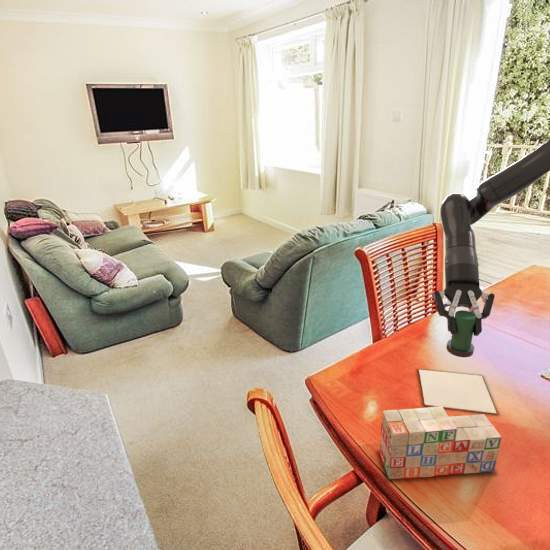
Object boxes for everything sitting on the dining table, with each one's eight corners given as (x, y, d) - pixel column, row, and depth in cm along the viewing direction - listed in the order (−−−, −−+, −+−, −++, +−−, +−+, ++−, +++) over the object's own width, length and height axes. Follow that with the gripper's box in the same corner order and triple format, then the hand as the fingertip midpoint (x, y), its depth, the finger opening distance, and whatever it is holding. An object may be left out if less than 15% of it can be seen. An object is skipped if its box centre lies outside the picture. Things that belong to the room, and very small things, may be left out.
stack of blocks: (477, 446, 80) (487, 402, 76) (494, 472, 75) (506, 425, 70) (378, 453, 80) (382, 409, 75) (388, 480, 74) (392, 433, 70)
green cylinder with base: (470, 344, 94) (476, 309, 90) (475, 358, 89) (482, 322, 85) (444, 342, 95) (449, 307, 92) (448, 356, 90) (454, 320, 86)
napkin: (481, 376, 101) (481, 375, 101) (496, 413, 89) (496, 413, 89) (418, 370, 105) (418, 369, 105) (424, 405, 92) (424, 404, 92)
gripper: (488, 274, 96) (493, 340, 90) (428, 272, 99) (429, 335, 93) (497, 262, 89) (504, 333, 83) (433, 260, 92) (435, 328, 86)
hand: (464, 334), depth 88 cm, fingers closed on green cylinder with base, 4 cm apart
